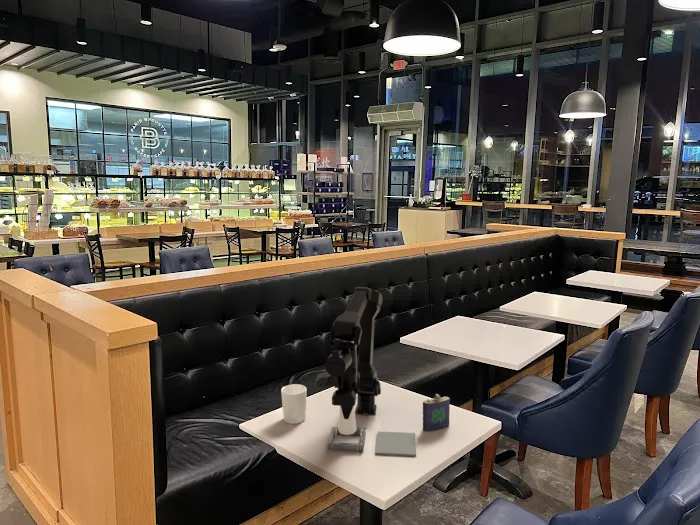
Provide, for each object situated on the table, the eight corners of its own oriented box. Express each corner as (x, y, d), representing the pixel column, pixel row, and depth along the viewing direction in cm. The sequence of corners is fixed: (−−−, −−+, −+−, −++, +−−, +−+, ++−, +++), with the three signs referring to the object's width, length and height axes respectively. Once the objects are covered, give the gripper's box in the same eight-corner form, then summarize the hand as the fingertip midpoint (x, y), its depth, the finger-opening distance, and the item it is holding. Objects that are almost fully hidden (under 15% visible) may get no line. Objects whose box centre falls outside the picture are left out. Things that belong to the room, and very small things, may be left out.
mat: (377, 433, 156) (377, 431, 156) (415, 434, 155) (415, 432, 154) (375, 454, 144) (375, 452, 144) (416, 456, 143) (416, 454, 143)
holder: (332, 433, 156) (332, 426, 156) (365, 434, 155) (365, 428, 155) (327, 450, 146) (327, 443, 146) (363, 452, 145) (363, 445, 145)
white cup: (277, 419, 165) (276, 389, 164) (296, 411, 171) (295, 382, 169) (292, 427, 160) (291, 396, 158) (312, 419, 165) (311, 389, 163)
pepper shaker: (345, 437, 146) (345, 400, 144) (334, 429, 151) (333, 394, 148) (360, 430, 150) (360, 395, 148) (348, 423, 154) (348, 388, 152)
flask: (446, 422, 162) (447, 390, 160) (451, 426, 159) (452, 393, 158) (420, 429, 158) (421, 395, 156) (426, 433, 156) (426, 399, 154)
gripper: (322, 351, 156) (323, 400, 159) (312, 375, 138) (313, 430, 141) (360, 352, 155) (360, 401, 158) (354, 376, 137) (355, 431, 140)
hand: (347, 415), depth 149 cm, fingers closed on pepper shaker, 4 cm apart
